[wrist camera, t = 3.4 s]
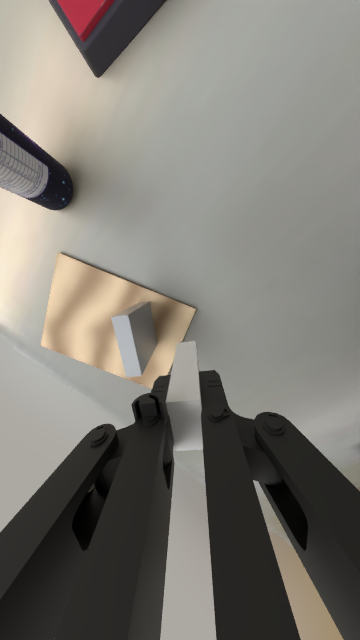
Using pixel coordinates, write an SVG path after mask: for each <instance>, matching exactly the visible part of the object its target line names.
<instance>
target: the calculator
mask: <svg viewBox="0 0 360 640" xmlns="http://www.w3.org/2000/svg"><path fill="white" fill-rule="evenodd" d="M49 2H50V4H51V5H52V7H53V8H54V10H55V12H56V13H57V15H58V17H59V18H60V20H61V21H62V23H63V25H64V26H65V28H66V30H67V31H68V33H69V34H70V36H71V38H72V39H73V41H74V43H75V44H76V46H77V47H78V49H79V51H80V52H81V54H82V56H83V57H84V59H85V61H86V62H87V64H88V65H89V67H90V69H91V70H92V72H93V73H94V75H95V76H96V77H97V78H98V77H100V76H101V75H102V74H103V73H104V72H105V71H106V70H107V69H108V67H109V66H110V65H111V64H112V63H113V62H114V61H115V59H116V58H117V57H118V56H119V55H120V54H121V53H122V52H123V50H124V49H125V48H126V47H127V46H128V45H129V43H130V42H131V41H132V40H133V39H134V37H135V36H136V35H137V34H138V33H139V31H140V30H141V29H142V28H143V26H144V25H145V24H146V23H147V21H148V20H149V19H150V18H151V16H152V15H153V14H154V13H155V11H156V10H157V9H158V8H159V6H160V5H161V4H162V3H163V2H164V0H49Z"/></svg>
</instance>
